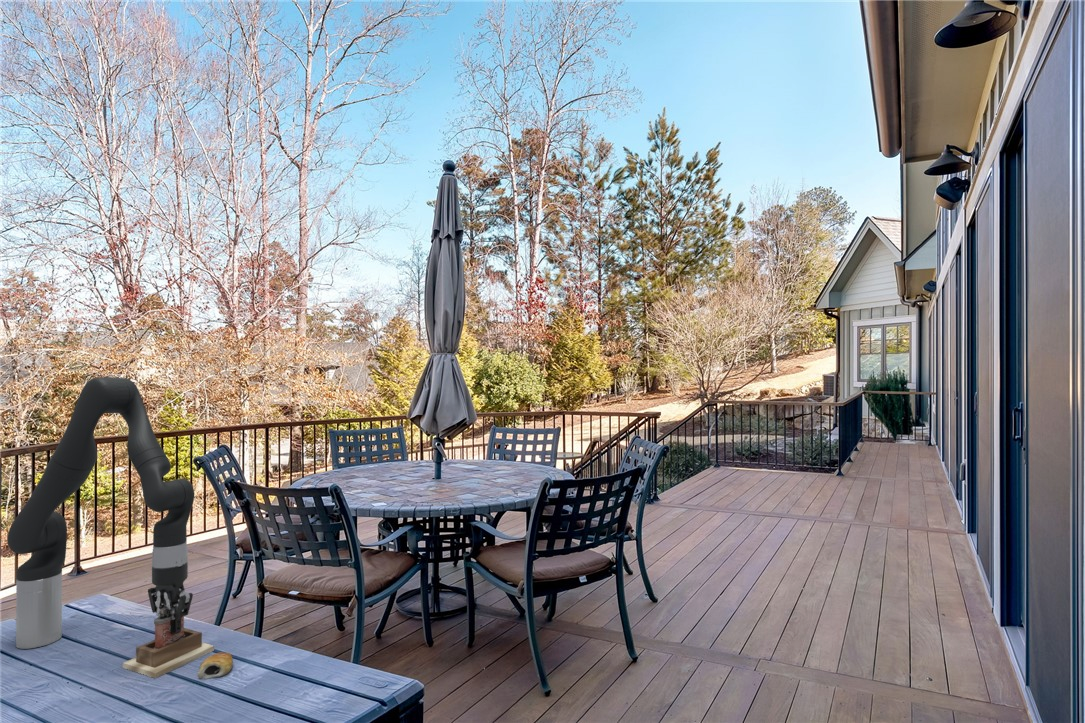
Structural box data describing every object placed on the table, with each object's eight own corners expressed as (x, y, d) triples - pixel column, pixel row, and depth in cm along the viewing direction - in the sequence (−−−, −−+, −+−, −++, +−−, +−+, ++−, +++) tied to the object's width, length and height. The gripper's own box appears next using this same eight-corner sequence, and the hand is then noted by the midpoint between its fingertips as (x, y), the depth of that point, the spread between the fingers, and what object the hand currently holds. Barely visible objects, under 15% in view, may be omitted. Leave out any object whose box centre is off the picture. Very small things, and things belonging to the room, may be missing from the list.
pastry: (208, 662, 147) (208, 646, 147) (238, 659, 149) (238, 643, 149) (196, 681, 138) (196, 664, 138) (228, 678, 140) (228, 661, 140)
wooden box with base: (122, 667, 144) (122, 648, 144) (182, 641, 158) (182, 623, 158) (155, 678, 139) (155, 657, 139) (214, 650, 153) (214, 631, 153)
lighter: (162, 653, 144) (162, 611, 144) (150, 651, 145) (150, 610, 145) (188, 638, 152) (188, 598, 152) (176, 637, 153) (176, 597, 153)
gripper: (136, 562, 148) (135, 633, 148) (174, 570, 142) (174, 643, 142) (166, 554, 155) (165, 621, 155) (203, 561, 149) (203, 631, 149)
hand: (169, 631), depth 148 cm, fingers closed on lighter, 3 cm apart
